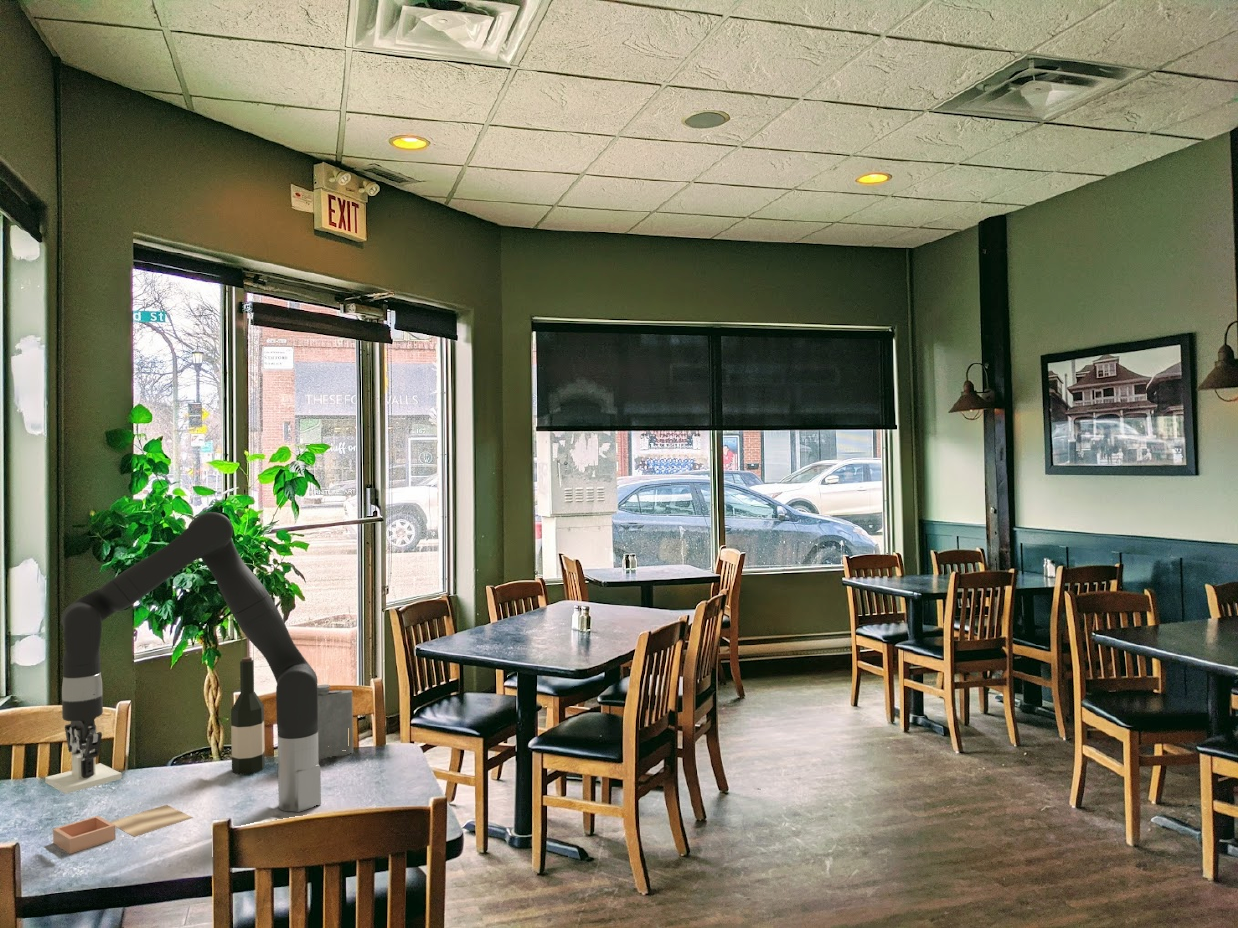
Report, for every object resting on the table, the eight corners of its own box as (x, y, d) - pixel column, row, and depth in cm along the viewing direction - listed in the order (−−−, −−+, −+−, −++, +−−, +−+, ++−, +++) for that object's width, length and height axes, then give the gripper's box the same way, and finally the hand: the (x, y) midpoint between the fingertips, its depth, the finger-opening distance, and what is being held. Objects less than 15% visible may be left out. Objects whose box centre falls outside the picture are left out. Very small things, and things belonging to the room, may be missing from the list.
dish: (115, 843, 194) (115, 825, 194) (70, 858, 187) (69, 839, 187) (98, 833, 200) (97, 815, 199) (53, 847, 192) (52, 828, 192)
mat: (193, 821, 205) (193, 817, 205) (134, 841, 195) (134, 836, 195) (166, 808, 213) (166, 804, 213) (108, 826, 203) (108, 822, 203)
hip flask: (296, 764, 244) (295, 691, 244) (293, 760, 247) (292, 688, 247) (354, 753, 253) (353, 682, 252) (350, 749, 256) (349, 680, 256)
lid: (121, 778, 194) (121, 752, 194) (65, 793, 185) (65, 766, 185) (100, 768, 201) (100, 743, 201) (45, 782, 192) (45, 756, 192)
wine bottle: (253, 775, 236) (251, 661, 236) (224, 773, 237) (223, 660, 237) (271, 764, 244) (269, 655, 244) (244, 762, 246) (242, 654, 245)
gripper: (115, 696, 192) (116, 776, 192) (87, 686, 200) (89, 763, 201) (76, 704, 186) (77, 786, 186) (50, 694, 195) (51, 772, 195)
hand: (83, 774), depth 193 cm, fingers closed on lid, 3 cm apart
